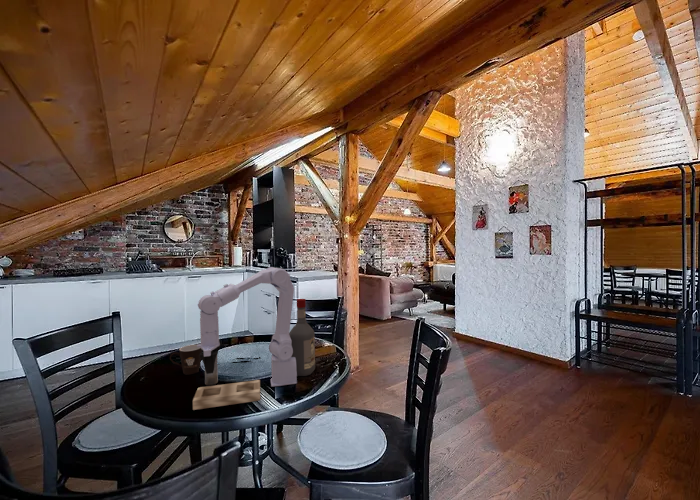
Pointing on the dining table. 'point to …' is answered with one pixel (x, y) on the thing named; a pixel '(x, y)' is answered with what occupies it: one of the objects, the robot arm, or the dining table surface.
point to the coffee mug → (189, 359)
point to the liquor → (303, 342)
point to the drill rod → (212, 375)
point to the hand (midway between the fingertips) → (210, 370)
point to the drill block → (226, 394)
